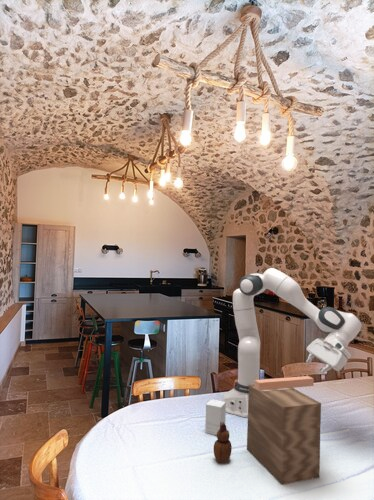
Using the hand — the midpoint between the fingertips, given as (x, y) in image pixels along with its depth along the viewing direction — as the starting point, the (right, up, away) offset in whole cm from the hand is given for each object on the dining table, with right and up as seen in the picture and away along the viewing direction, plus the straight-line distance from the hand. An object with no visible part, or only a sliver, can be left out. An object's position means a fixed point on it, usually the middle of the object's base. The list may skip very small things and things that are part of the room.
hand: (314, 367), depth 156 cm
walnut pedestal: (-21, -29, -22) cm, 42 cm away
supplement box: (-44, -30, +2) cm, 53 cm away
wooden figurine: (-43, -28, -22) cm, 56 cm away
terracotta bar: (-17, -3, -13) cm, 21 cm away
